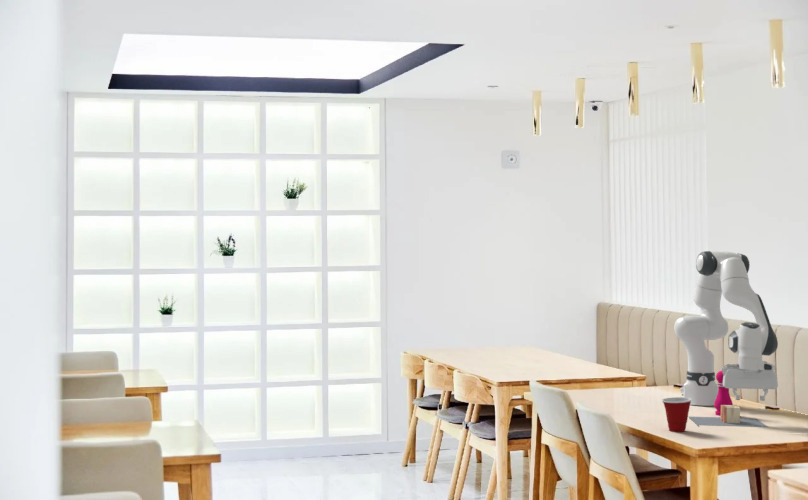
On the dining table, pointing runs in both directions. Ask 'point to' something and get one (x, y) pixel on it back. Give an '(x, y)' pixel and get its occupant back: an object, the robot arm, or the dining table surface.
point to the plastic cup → (677, 412)
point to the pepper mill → (721, 394)
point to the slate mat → (717, 422)
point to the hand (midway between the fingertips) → (749, 400)
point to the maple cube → (730, 414)
